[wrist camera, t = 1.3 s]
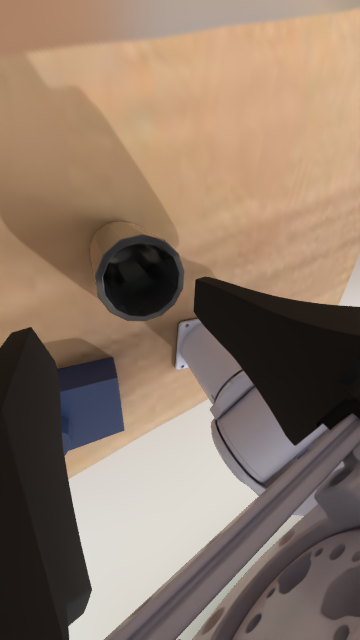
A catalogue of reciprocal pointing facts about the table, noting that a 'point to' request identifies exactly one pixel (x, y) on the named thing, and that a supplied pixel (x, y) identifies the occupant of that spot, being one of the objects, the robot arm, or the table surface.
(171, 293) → the pot
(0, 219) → the table surface
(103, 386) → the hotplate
